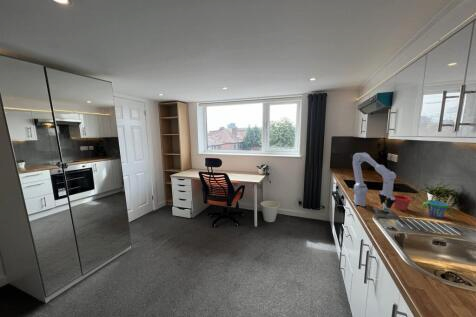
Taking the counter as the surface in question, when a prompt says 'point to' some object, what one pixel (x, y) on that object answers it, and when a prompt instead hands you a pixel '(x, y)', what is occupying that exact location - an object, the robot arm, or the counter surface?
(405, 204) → the flower pot
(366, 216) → the counter surface
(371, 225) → the counter surface
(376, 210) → the collar
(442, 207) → the snack cup
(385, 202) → the column
